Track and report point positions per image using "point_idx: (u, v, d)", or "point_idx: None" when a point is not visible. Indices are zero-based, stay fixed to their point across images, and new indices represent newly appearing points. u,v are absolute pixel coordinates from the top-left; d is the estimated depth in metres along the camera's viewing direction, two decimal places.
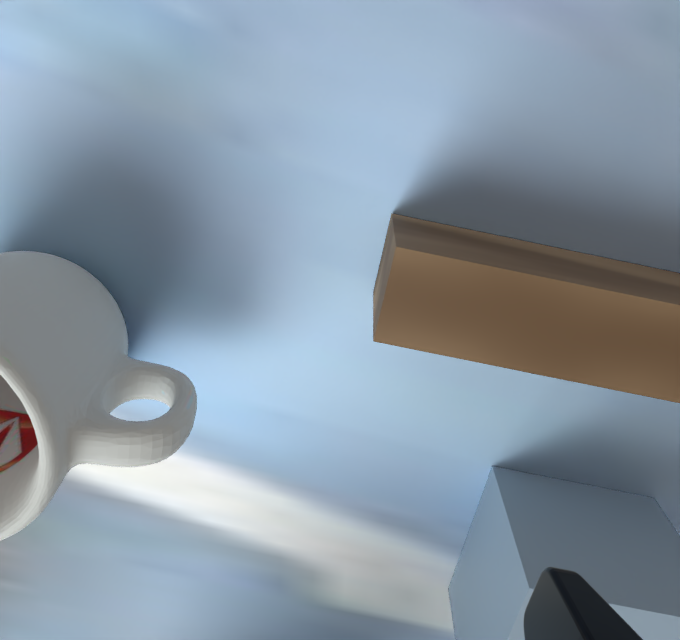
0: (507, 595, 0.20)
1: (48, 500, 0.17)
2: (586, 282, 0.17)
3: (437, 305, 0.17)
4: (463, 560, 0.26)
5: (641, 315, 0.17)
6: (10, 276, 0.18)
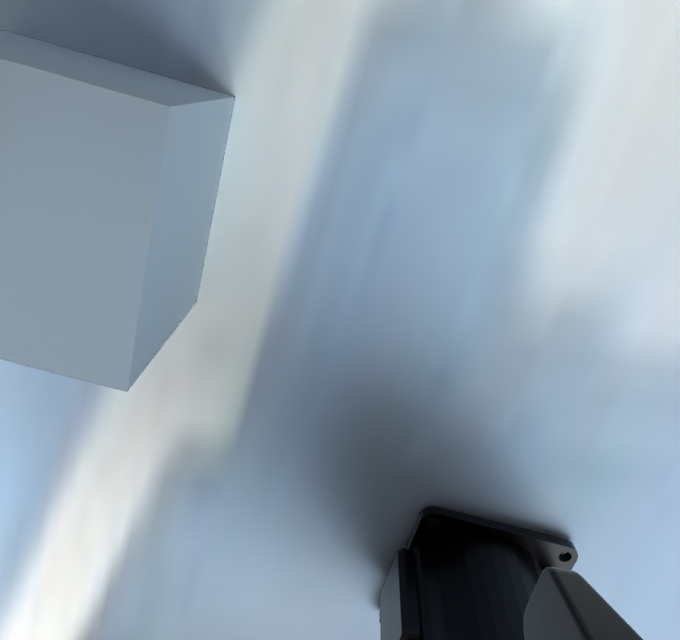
0: None
1: None
2: None
3: None
4: None
5: None
6: None
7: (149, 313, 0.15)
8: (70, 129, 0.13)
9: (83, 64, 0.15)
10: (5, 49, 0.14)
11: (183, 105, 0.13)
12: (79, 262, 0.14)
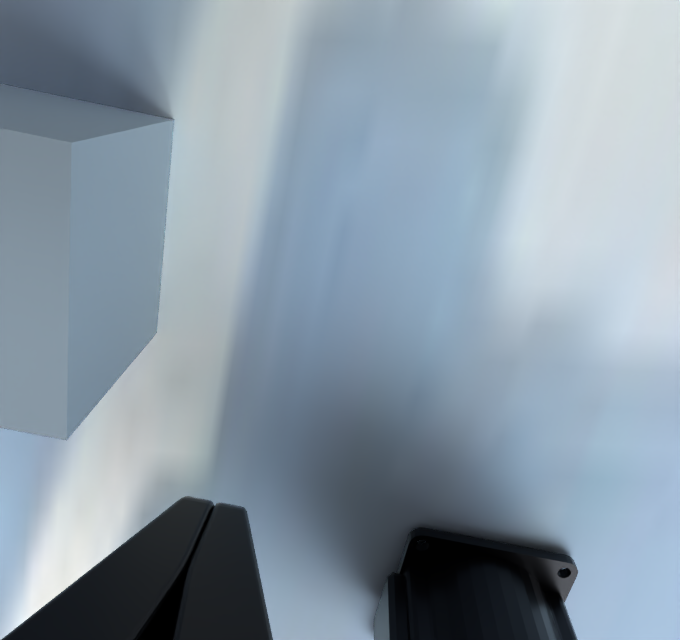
0: None
1: None
2: None
3: None
4: None
5: None
6: None
7: (85, 356, 0.14)
8: None
9: (0, 100, 0.14)
10: None
11: (93, 138, 0.12)
12: None
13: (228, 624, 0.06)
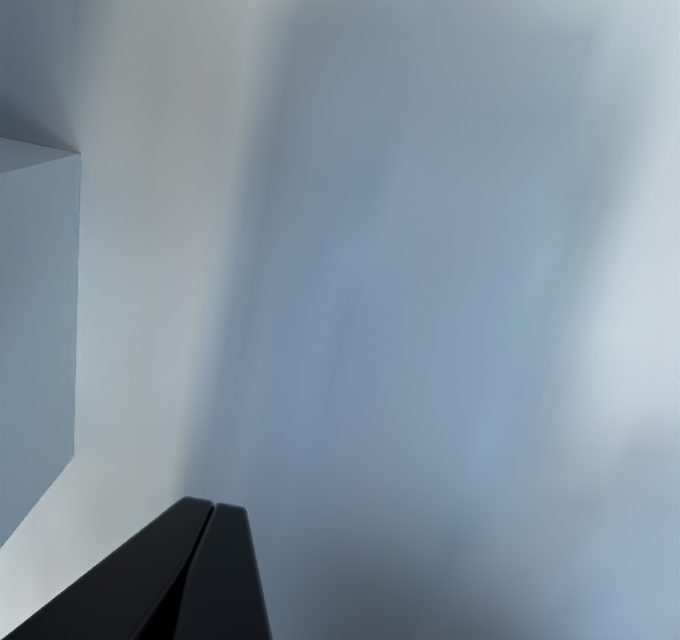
0: None
1: None
2: None
3: None
4: None
5: None
6: None
7: None
8: None
9: None
10: None
11: None
12: None
13: (228, 624, 0.06)
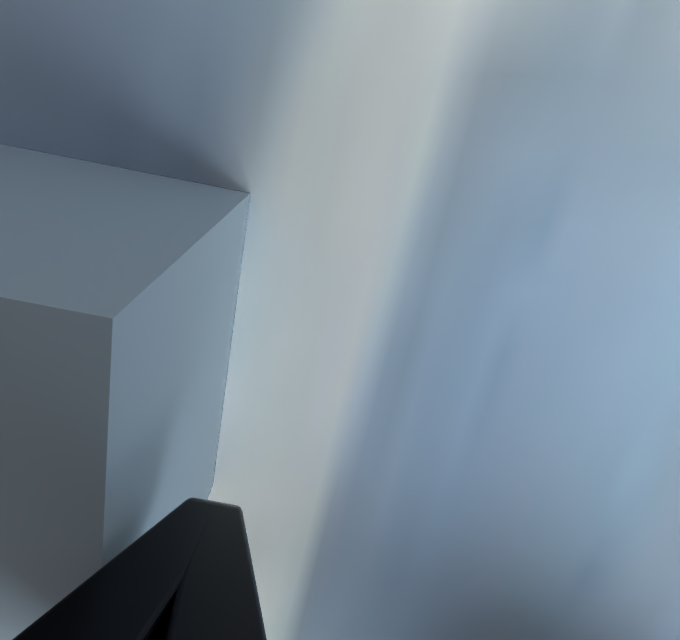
0: None
1: None
2: None
3: None
4: None
5: None
6: None
7: None
8: None
9: None
10: None
11: (150, 285, 0.06)
12: None
13: (221, 623, 0.06)
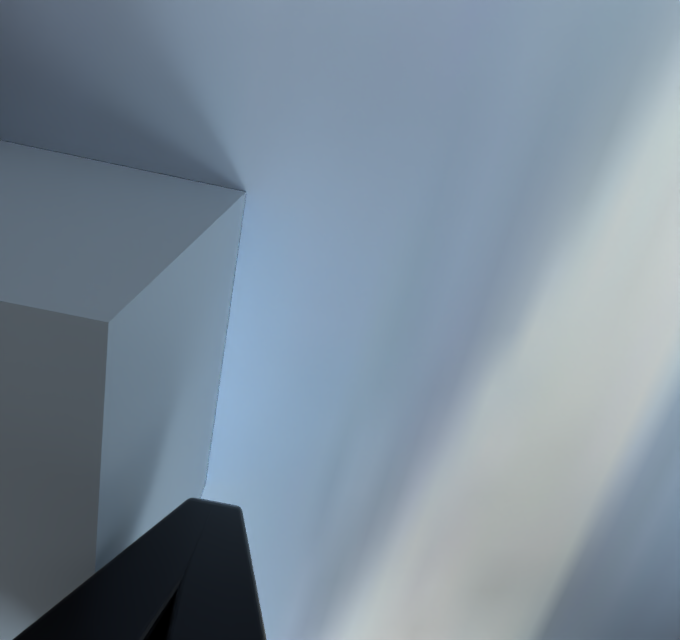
0: None
1: None
2: None
3: None
4: None
5: None
6: None
7: None
8: None
9: None
10: None
11: (146, 286, 0.06)
12: None
13: (221, 623, 0.06)
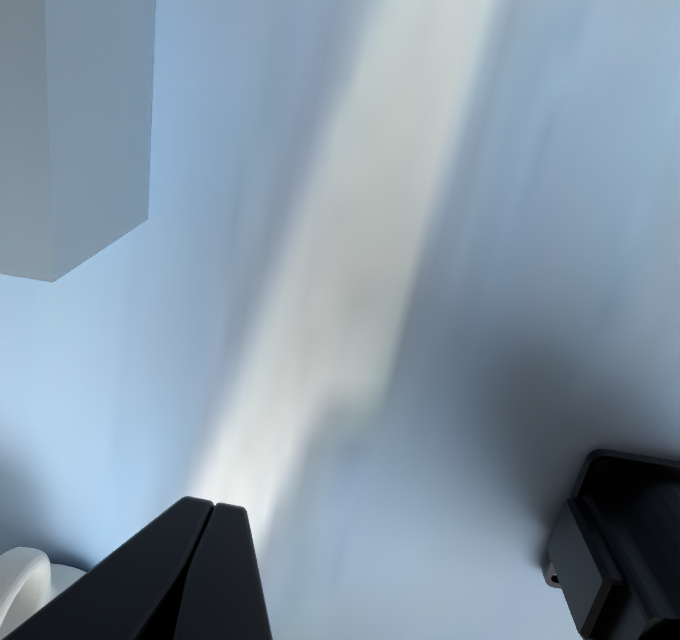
0: None
1: None
2: None
3: None
4: None
5: None
6: None
7: (69, 196, 0.14)
8: None
9: None
10: None
11: None
12: None
13: (228, 624, 0.06)
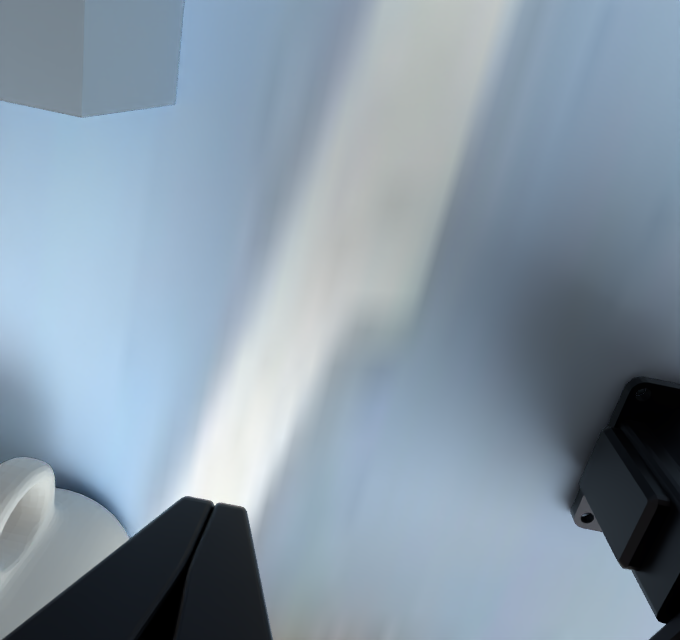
0: None
1: None
2: None
3: None
4: None
5: None
6: None
7: (103, 25, 0.13)
8: None
9: None
10: None
11: None
12: None
13: (228, 624, 0.06)
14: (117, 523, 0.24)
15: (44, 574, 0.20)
